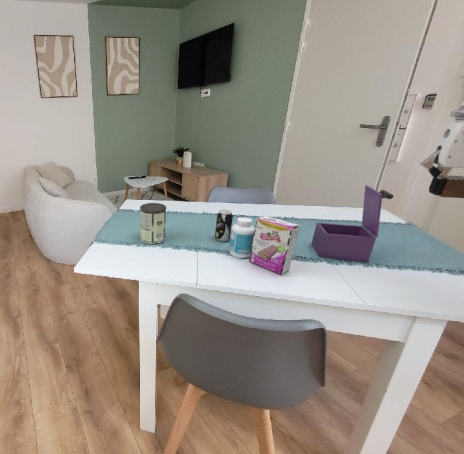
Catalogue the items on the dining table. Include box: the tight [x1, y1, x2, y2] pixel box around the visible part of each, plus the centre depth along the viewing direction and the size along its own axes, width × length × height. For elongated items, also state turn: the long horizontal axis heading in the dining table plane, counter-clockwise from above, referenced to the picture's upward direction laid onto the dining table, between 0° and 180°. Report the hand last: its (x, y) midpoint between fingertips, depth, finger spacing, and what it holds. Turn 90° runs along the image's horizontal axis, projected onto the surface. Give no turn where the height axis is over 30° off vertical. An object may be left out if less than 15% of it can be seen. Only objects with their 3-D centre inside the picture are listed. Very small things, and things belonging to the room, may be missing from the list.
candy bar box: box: [248, 214, 301, 276], centre depth 94 cm, size 11×5×16 cm, turn 34°
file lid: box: [361, 185, 394, 238], centre depth 94 cm, size 14×11×4 cm
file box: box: [311, 222, 377, 263], centre depth 101 cm, size 14×11×9 cm
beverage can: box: [214, 209, 234, 243], centre depth 115 cm, size 6×6×12 cm
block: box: [437, 174, 464, 199], centre depth 70 cm, size 4×4×4 cm
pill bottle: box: [228, 216, 255, 259], centre depth 103 cm, size 8×7×14 cm
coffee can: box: [139, 202, 167, 245], centre depth 118 cm, size 10×10×14 cm
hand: (448, 193), depth 71 cm, fingers closed on block, 4 cm apart
